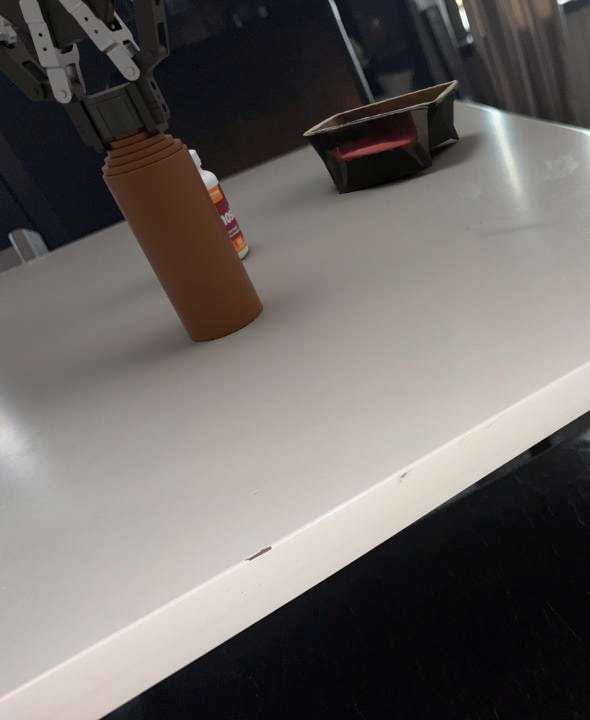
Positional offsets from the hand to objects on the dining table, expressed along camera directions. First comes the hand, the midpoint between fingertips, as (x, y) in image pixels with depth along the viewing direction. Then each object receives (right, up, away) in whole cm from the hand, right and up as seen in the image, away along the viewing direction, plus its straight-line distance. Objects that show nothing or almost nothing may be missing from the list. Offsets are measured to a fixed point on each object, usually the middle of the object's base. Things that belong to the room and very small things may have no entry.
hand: (133, 139), depth 56 cm
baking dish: (+16, +7, +35) cm, 39 cm away
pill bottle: (-1, -6, +22) cm, 23 cm away
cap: (-1, +3, -1) cm, 3 cm away
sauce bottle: (+4, -13, +8) cm, 16 cm away
